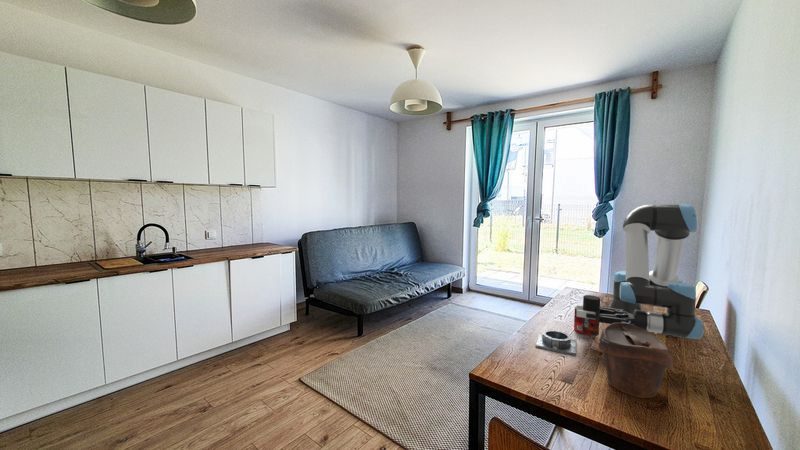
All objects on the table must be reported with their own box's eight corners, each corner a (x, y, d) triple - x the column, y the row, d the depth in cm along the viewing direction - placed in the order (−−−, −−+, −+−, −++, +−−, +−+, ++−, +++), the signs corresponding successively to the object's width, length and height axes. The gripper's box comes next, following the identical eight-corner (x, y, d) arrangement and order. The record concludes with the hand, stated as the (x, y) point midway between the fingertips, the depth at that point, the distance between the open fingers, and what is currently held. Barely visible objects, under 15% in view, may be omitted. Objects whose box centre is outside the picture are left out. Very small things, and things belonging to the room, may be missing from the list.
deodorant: (580, 333, 128) (581, 297, 126) (583, 328, 132) (585, 294, 131) (597, 337, 124) (598, 300, 122) (600, 332, 128) (601, 297, 127)
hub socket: (539, 334, 138) (540, 326, 137) (575, 341, 131) (576, 332, 130) (535, 347, 126) (536, 337, 125) (575, 355, 119) (575, 345, 118)
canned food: (597, 336, 137) (598, 311, 136) (577, 334, 138) (578, 310, 138) (590, 329, 144) (591, 306, 143) (571, 327, 146) (572, 304, 145)
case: (651, 413, 86) (655, 350, 85) (583, 377, 104) (585, 324, 103) (686, 398, 93) (690, 340, 92) (617, 367, 111) (619, 318, 110)
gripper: (650, 340, 110) (575, 327, 122) (641, 322, 126) (576, 312, 138) (651, 319, 110) (576, 308, 121) (642, 304, 126) (577, 295, 137)
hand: (576, 310), depth 130 cm, fingers closed on deodorant, 6 cm apart
